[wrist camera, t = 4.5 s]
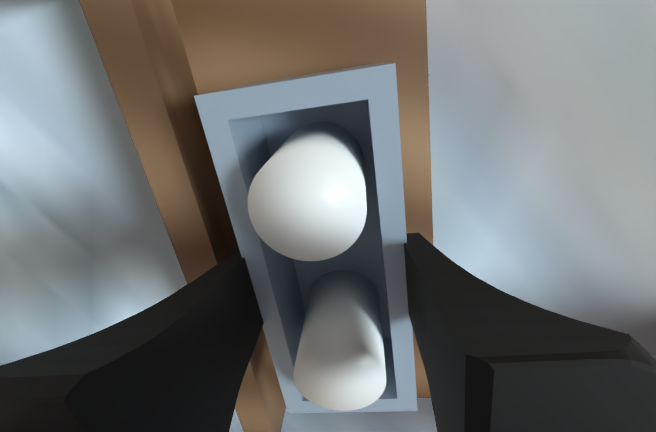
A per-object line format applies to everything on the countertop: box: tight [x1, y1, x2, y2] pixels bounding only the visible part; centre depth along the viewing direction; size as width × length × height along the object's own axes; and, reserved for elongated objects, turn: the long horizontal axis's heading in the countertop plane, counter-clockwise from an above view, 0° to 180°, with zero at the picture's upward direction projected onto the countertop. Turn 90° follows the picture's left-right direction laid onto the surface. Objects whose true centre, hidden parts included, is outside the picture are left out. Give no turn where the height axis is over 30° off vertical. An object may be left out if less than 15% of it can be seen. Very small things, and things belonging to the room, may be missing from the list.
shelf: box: [79, 0, 433, 432], centre depth 14 cm, size 22×10×4 cm, turn 9°
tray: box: [194, 62, 418, 414], centre depth 12 cm, size 12×5×5 cm, turn 9°
